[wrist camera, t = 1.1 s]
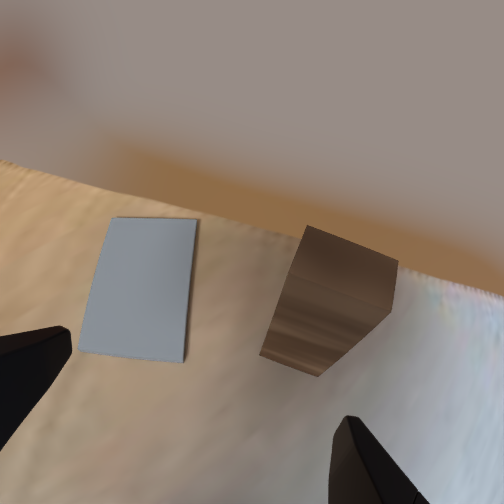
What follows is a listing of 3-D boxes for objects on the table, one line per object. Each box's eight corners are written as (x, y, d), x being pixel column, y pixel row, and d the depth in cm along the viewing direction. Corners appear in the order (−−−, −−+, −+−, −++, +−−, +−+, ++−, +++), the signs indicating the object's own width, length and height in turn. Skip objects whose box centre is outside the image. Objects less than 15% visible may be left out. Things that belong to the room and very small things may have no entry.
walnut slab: (317, 376, 23) (391, 311, 13) (259, 354, 24) (288, 272, 13) (328, 344, 25) (398, 260, 14) (272, 323, 25) (307, 225, 15)
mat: (183, 362, 23) (182, 360, 22) (80, 351, 22) (77, 349, 22) (197, 223, 31) (196, 219, 30) (113, 221, 30) (111, 217, 30)
